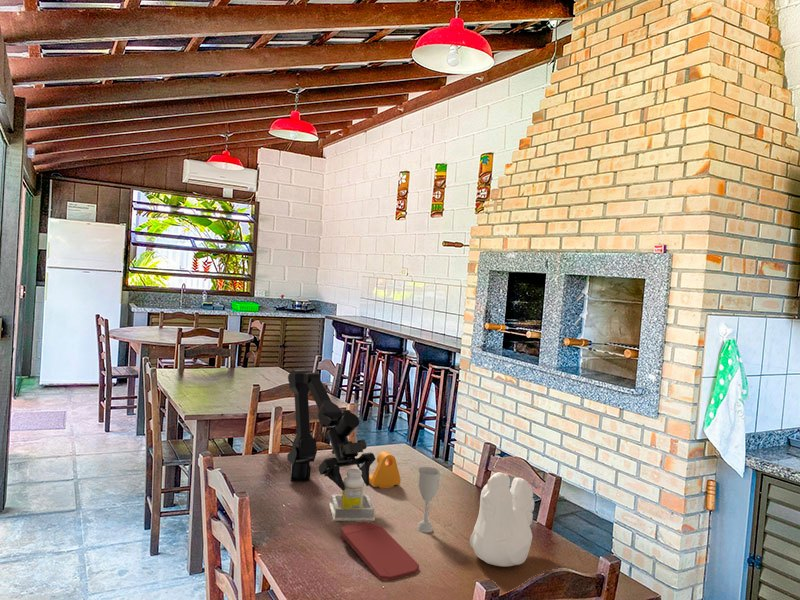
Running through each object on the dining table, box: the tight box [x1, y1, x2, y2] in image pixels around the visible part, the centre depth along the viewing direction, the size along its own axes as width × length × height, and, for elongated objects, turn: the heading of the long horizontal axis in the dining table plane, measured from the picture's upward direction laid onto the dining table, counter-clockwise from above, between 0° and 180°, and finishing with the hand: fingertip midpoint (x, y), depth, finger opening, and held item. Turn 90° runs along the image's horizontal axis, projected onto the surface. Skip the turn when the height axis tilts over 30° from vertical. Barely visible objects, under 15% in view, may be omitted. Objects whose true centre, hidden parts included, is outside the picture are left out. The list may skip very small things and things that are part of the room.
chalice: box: [416, 466, 443, 533], centre depth 177 cm, size 7×7×18 cm
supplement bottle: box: [341, 468, 365, 508], centre depth 185 cm, size 7×7×13 cm
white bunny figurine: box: [469, 471, 535, 567], centre depth 163 cm, size 25×16×25 cm, turn 126°
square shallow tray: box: [328, 493, 376, 522], centre depth 185 cm, size 13×13×4 cm
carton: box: [340, 521, 420, 581], centre depth 158 cm, size 12×5×25 cm
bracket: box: [369, 450, 402, 489], centre depth 213 cm, size 11×7×12 cm, turn 116°
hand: (356, 487), depth 183 cm, fingers open, 9 cm apart
